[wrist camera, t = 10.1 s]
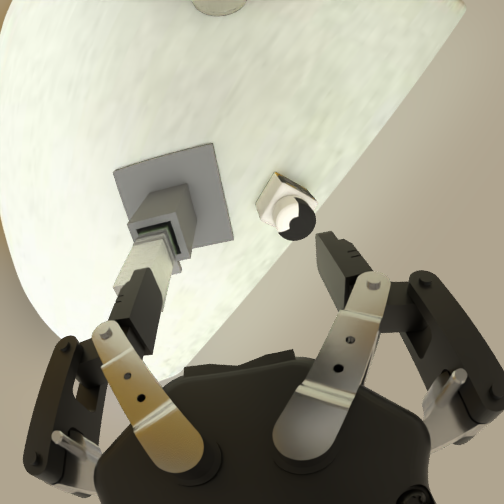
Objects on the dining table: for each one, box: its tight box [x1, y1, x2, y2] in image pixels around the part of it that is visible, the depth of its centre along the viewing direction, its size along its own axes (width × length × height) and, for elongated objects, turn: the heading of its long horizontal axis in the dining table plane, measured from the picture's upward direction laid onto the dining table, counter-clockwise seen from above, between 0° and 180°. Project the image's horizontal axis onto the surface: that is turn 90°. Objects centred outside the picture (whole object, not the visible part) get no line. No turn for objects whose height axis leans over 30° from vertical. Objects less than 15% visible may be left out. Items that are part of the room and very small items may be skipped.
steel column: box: [113, 221, 178, 312], centre depth 33 cm, size 4×4×18 cm
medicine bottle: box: [255, 172, 318, 241], centre depth 44 cm, size 7×7×12 cm
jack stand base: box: [113, 143, 234, 275], centre depth 42 cm, size 18×18×14 cm
